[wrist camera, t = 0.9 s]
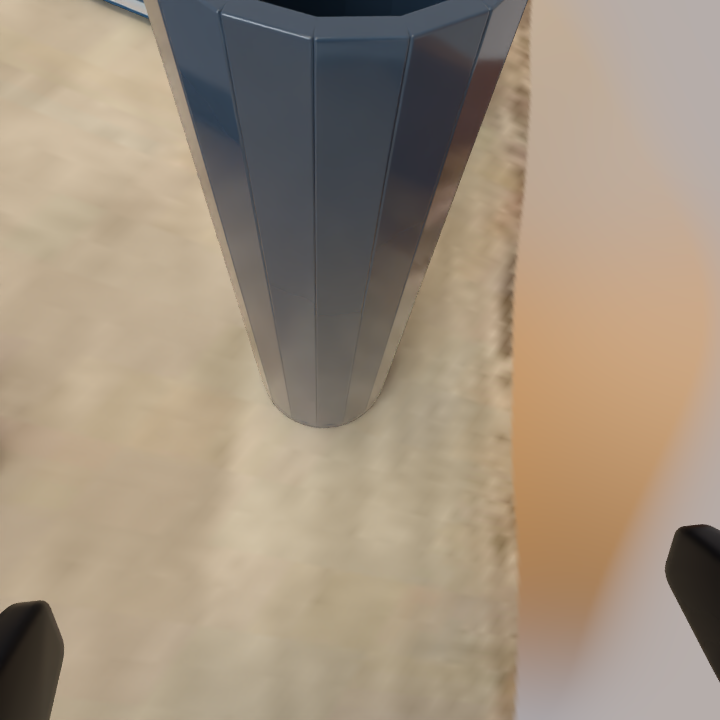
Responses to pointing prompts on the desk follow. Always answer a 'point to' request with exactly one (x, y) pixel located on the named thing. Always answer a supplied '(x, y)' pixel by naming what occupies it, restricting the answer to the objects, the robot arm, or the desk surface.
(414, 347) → the desk surface
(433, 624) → the desk surface
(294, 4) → the faceted blue cylinder
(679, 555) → the robot arm
